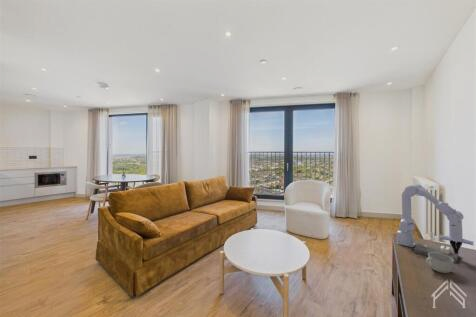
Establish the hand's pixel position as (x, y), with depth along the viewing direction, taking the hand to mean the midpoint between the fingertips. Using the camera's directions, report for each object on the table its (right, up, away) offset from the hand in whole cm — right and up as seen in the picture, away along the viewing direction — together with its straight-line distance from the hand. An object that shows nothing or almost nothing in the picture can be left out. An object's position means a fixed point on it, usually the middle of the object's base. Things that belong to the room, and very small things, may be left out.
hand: (456, 253), depth 135 cm
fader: (-3, -1, +4) cm, 5 cm away
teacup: (-22, -5, -11) cm, 25 cm away
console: (-6, -4, +7) cm, 10 cm away
